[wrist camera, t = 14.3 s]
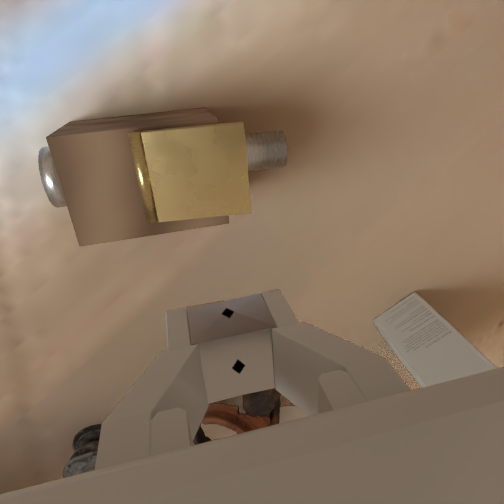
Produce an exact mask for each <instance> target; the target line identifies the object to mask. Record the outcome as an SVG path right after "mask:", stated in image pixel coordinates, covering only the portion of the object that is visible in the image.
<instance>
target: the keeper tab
mask: <svg viewBox="0 0 504 504" xmlns="http://www.w3.org/2000/svg"><path fill="white" fill-rule="evenodd" d="M127 134H128V139H129V143H130V148H131V153H132V157H133V162H134V167H135V171H136V176H137V180H138V185H139V190H140V194H141V199H142V204H143V208H144V213H145V218H146V222H147V223H156V222H167V221H177V220H187V219H197V218H207V217H217V216H227V215H237V214H247V213H251V202H250V190H249V178H248V166H247V153H246V141H245V129H244V122H243V121H242V122H232V123H221V124H210V125H199V126H188V127H177V128H166V129H155V130H144V131H133V132H129V133H127Z"/></svg>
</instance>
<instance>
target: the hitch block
mask: <svg viewBox="0 0 504 504" xmlns="http://www.w3.org/2000/svg"><path fill="white" fill-rule="evenodd" d="M210 124H218V118H217V117H215V116H214V115H213V114H212V113H211V112H209V111H208V110H207V109H206V108H197V109H187V110H178V111H168V112H159V113H149V114H140V115H130V116H121V117H111V118H102V119H92V120H82V121H73V122H69V123H67V124H66V125H64V126H63V127H61V128H60V129H58V130H57V131H55V132H53V133H52V134H50V135H49V136H47V137H46V139H47V142H48V145H49V149H50V152H51V155H52V158H53V162H54V165H55V168H56V171H57V175H58V178H59V181H60V184H61V188H62V191H63V194H64V197H65V201H66V204H67V207H68V210H69V214H70V217H71V220H72V223H73V226H74V230H75V233H76V236H77V239H78V243H79V246H86V245H93V244H99V243H105V242H112V241H118V240H125V239H131V238H138V237H144V236H150V235H157V234H163V233H170V232H176V231H182V230H189V229H195V228H202V227H208V226H214V225H221V224H227V223H229V216H228V215H227V216H217V217H207V218H197V219H187V220H177V221H167V222H156V223H147V222H146V218H145V213H144V208H143V204H142V199H141V194H140V190H139V185H138V180H137V176H136V171H135V167H134V162H133V157H132V153H131V148H130V143H129V139H128V134H127V133H129V132H133V131H144V130H155V129H166V128H177V127H188V126H199V125H210Z"/></svg>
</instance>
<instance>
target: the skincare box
mask: <svg viewBox="0 0 504 504" xmlns="http://www.w3.org/2000/svg"><path fill="white" fill-rule="evenodd" d="M373 321H374V323H375V325H376V327H377V328H378V330H379V332H380V333H381V335H382V336H383V338H384V339H385V341H386V342H387V344H388V345H389V346H390V348H391V349H392V350H393V352H394V353H395V354H396V356H397V357H398V358H399V359H400V361H401V362H402V363H403V364H404V366H405V367H406V368H407V369H408V371H409V372H410V373H411V374H412V376H413V377H414V378H415V379H416V381H417V382H418V383H419V384H420V386H421V387H422V388H423V387H426V386H430V385H434V384H438V383H442V382H446V381H450V380H454V379H458V378H462V377H466V376H470V375H474V374H478V373H482V372H486V371H489V370H493V369H497V368H498V367H497V366H495V365H494V364H493V363H492V362H491V361H490V360H488V359H487V358H486V357H485V356H484V355H483V354H482V353H481V352H480V351H479V350H478V349H477V348H476V347H475V346H474V345H473V344H472V343H471V342H470V341H468V340H467V339H466V338H465V337H464V336H463V335H462V334H461V333H460V332H459V331H458V330H457V329H455V328H454V327H453V326H452V325H451V324H450V323H449V322H448V321H447V320H446V319H445V318H443V317H442V316H441V315H440V314H439V313H438V312H437V311H436V310H435V309H434V308H433V307H431V306H430V305H429V304H428V303H427V302H426V301H425V300H424V299H423V298H422V297H421V296H419V295H418V294H417V293H416V292H414V293H412V294H411V295H409V296H408V297H406V298H405V299H403V300H402V301H400V302H399V303H397V304H396V305H394V306H393V307H391V308H390V309H388V310H387V311H385V312H384V313H382V314H381V315H379V316H378V317H377V318H375V319H374V320H373Z"/></svg>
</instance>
